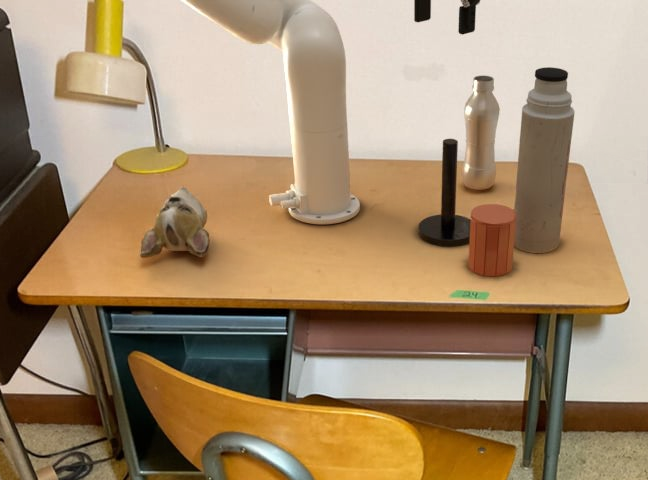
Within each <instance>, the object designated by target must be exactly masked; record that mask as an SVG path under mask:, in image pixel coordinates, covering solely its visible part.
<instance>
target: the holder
mask: <svg viewBox="0 0 648 480" xmlns="http://www.w3.org/2000/svg"><path fill="white" fill-rule="evenodd" d="M458 147H459V141H458V140H457V139H456V138H445V139H443V140H442V155H441V157H442V158H441V159H442V161H441V198H440V199H441V200H440V201H441V203H440V205H441V206H440V214H435V215H430V216H427V217H425V218H423V219H422V220H421V221H420V222H419V223H418V236H419V237H420V239H421V240H422V241H424V242H425V243H428V244H430V245H434V246H437V247H445V248H446V247H448V248H449V247H450V248H451V247H460V246H464V245H465V246H466V245H469V241H470V219H471V218H468V217H466V216H463V215H459V214H456V207H457V205H456V204H457V178H458V176H457V175H458V152H459V151H458V149H459V148H458Z"/></svg>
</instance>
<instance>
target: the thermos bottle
mask: <svg viewBox="0 0 648 480" xmlns="http://www.w3.org/2000/svg"><path fill="white" fill-rule="evenodd" d="M534 78H535V80H534V88H532V89H530V90H529V91H528V92H527V97H526V103H525V104H523V106H522V108H521V121H520V132H519V145H518V156H517V170H516V183H515V185H516V186H515V200H514V206H513V210H514V211H515V212H516V228H515V240H514V248H517V249H518V250H521V251H522V252H527V253H532V254H545V253H549V252H553V251H555V250H557V248H558V247H559V245H560V238H561V229H562V222H563V213H564V204H565V195H566V188H567V187H566V185H567V178H568V170H569V164H570V163H569V162H570V154H571V146H572V137H573V129H574V121H575V108H573V107H572V103H573V100H572V94H571V92H569V91H568V81H567V80H568V78H569V72H568V71H567V70H566V69H563V68H560V67H553V66H552V67H551V66H550V67H540V68H537V69H535V70H534Z"/></svg>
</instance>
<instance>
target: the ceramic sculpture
mask: <svg viewBox="0 0 648 480" xmlns="http://www.w3.org/2000/svg"><path fill="white" fill-rule="evenodd" d="M207 222H208V212H207V210H206V209H205V208H204V206H203V204H202V203H201V202H200V200H199V199H198V198H197V197H196V196H195V195H194V194H193V193H192V192H190V191H189V190H188V189H187V188H186V187H185V186H181V187H180V188H179V190H177V191H176V192H175V193H173V194H171V195H170V196H169V198H167V199H166V200H165V202H164V203H163V206H162V207H161V209H160V210H159V212H158V213H157V215H156V218H155V221H154V225H153V228H152V229H149V230H148V231H146V232H145V233H144V235H143V237H142V238H141V246H140V254H139V257H140V258H141V259H144V258H150V257H155V256H158V255H159V254H160V253H162V250H163V248H165V249H166V250H168V251H170V252H187V251H188V252H189V253H190V254H192V255H194V256H196V257H200V258H202V257H204V256H205V255H206V254H207V253H208V250H209V248H210V241H211V240H210V234H209V232H208V231H207V230H206V229H205V227H206V225H207Z"/></svg>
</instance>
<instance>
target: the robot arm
mask: <svg viewBox="0 0 648 480" xmlns="http://www.w3.org/2000/svg"><path fill="white" fill-rule="evenodd" d="M180 1H181V2H183V4H186V5H187V6H188V7H190V8H191V9H193V10H194V11H196V12H197V13H199V14H200V15H202V16H204V17H205V18H207V19H208V20H210V21H211V22H213V23H215V24H216V25H218V26H219V27H220V28H222V29H224V30H226V31H227V32H228V33H229V34H231V35H233V36H234V37H236V38H237V39H239V40H240V41H242V42H244V43H247V44H250V45H263V44H266V43H267V44H270V45H271V46H273V47H274V48H276V49H278V50H279V51H281V52H282V57H283V69H284V76H285V77H284V78H285V86H286V96H287V110H288V119H289V120H288V121H289V129H290V130H289V131H290V139H291V152H292V163H293V164H292V165H293V174H294V183H290V184H289V185H290V189H288V190H285V192H283V193H273V194H269V195H268V201H269V204H270V206H271V207H275V206H280V208H281V210H286V209H288V213H289V215H290V216H291V217H292V218H294V219H295V220H297V221H299V222H302V223H306V224H311V225H333V224H334V225H335V224H339V223H343V222H346V221H348V220H351V219H353V218H354V217H356V216H357V215H358V214H359V213H360V211H361V203H360V200H359V198H358V197H356V196H355V195H353V194H352V193H351V177H350V176H351V175H350V151H349V133H348V131H349V130H348V113H347V112H348V111H347V60H346V50H345V46H344V42H343V39H342V35H341V32H340V29H339V27H338V24H337V22H336V21H335V20H334V18H333V16H332V15H331V14H330V13H328V11H326V10H325V9H324V8H322V6H320V5H318V4H317V3H315V2H314V1H312V0H180ZM460 2H461V4H462V5H461V6H459V8H458V30H457V31H458V32H457V33H458V34H459V35H466V34H471V33H474V32H475V31H476V14H477V13H476V11H477V6H478V5H480V3H481V0H460ZM413 3H414V5H413V10H414V13H413V16H414V18H413V20H414V23H422V22H426V21H429V20H431V18H432V15H431V14H432V0H414V1H413Z"/></svg>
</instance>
